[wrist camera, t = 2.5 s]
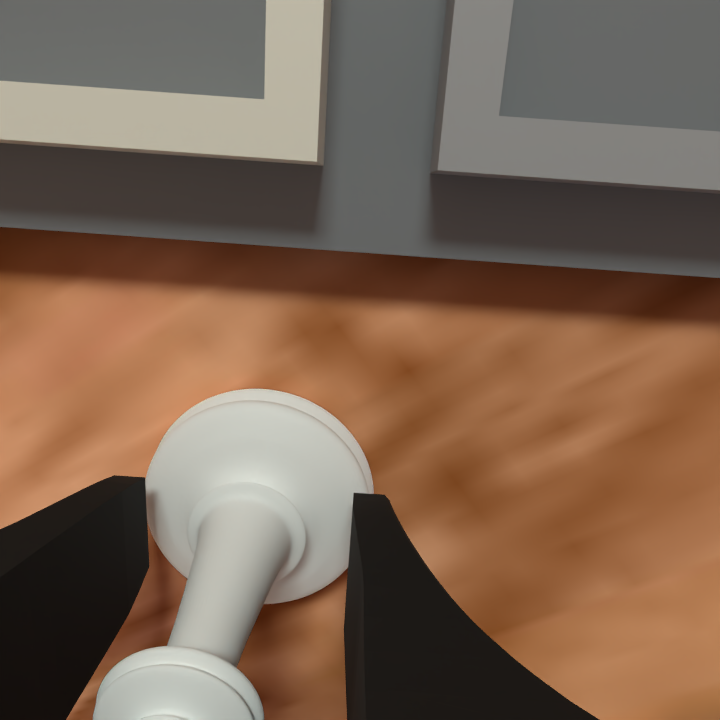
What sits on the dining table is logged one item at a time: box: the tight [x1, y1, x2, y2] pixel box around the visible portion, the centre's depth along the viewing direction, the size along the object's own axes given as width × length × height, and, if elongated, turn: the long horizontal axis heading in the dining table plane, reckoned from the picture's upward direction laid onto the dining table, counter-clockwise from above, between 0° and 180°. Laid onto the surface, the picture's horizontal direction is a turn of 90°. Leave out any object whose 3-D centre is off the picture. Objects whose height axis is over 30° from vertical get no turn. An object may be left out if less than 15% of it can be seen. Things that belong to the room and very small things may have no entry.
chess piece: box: [93, 389, 374, 720], centre depth 8 cm, size 5×5×10 cm
